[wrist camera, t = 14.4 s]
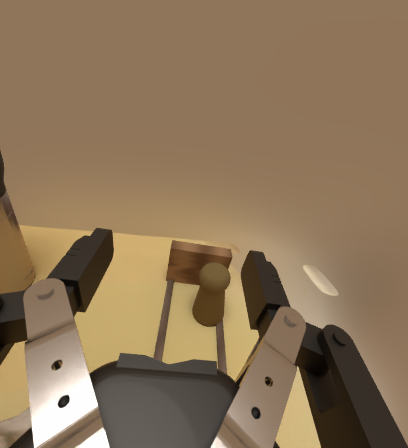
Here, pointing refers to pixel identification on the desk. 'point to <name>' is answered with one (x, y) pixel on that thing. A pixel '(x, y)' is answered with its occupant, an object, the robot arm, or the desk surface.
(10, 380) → the desk surface
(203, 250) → the lane
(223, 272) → the cork
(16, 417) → the ceramic sculpture
